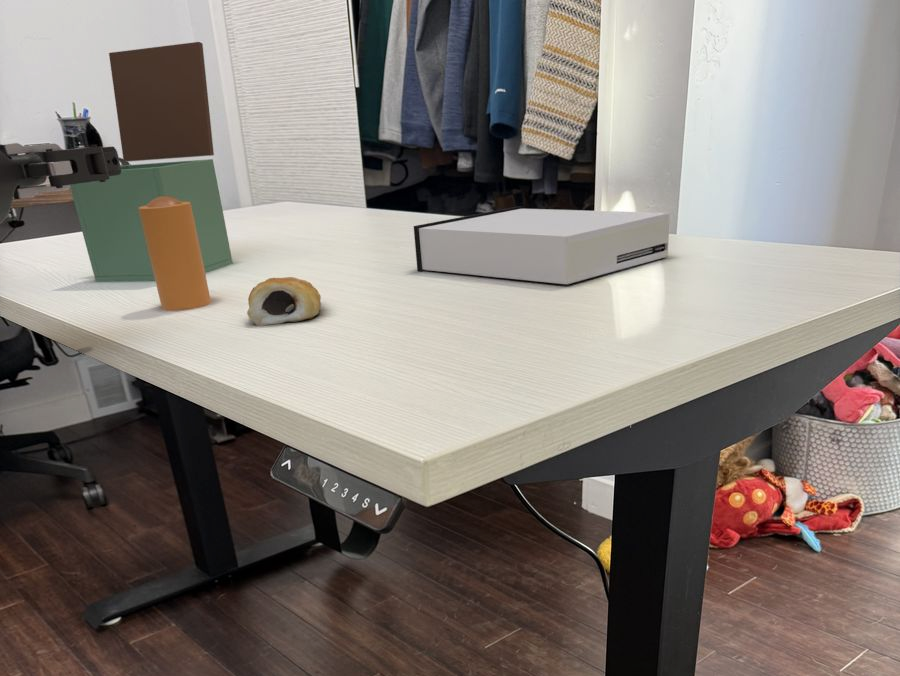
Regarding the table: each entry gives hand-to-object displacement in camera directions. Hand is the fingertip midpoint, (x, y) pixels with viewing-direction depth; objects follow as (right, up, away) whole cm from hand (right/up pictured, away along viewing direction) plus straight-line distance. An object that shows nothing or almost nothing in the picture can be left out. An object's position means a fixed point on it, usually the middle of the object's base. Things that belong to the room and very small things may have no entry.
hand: (76, 163), depth 76 cm
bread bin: (-5, +5, +38) cm, 38 cm away
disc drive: (+43, -1, +22) cm, 48 cm away
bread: (+5, -7, +16) cm, 19 cm away
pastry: (+17, -11, +8) cm, 22 cm away
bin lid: (-4, +25, +33) cm, 42 cm away
